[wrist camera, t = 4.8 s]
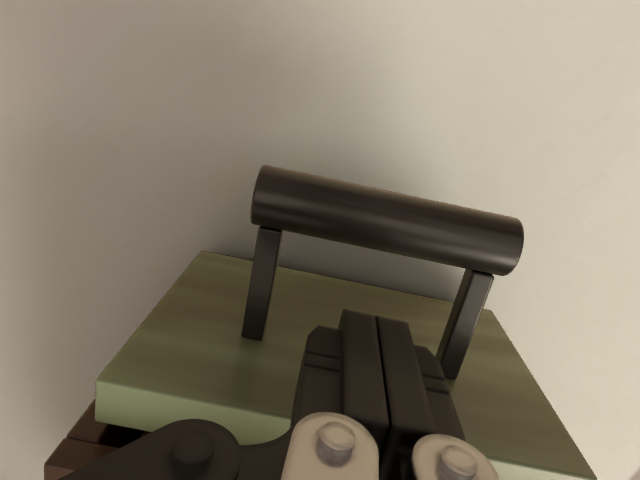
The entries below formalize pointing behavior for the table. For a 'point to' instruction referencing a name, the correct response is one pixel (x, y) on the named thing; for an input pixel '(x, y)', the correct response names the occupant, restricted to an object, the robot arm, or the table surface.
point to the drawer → (325, 309)
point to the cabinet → (87, 444)
